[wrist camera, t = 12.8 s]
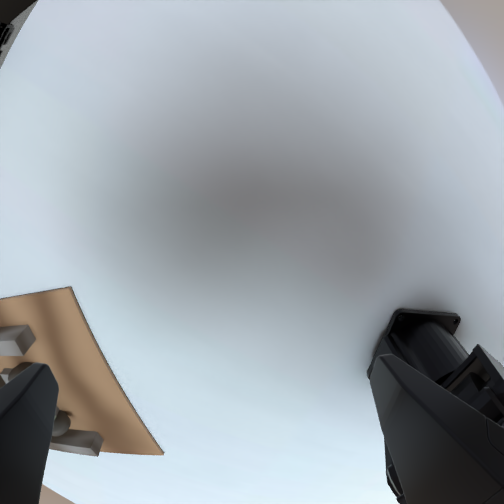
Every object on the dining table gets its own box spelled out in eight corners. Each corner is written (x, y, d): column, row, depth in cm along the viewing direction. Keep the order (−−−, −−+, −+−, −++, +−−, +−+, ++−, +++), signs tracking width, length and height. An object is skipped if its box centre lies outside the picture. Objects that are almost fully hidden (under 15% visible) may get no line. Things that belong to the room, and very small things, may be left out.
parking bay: (70, 286, 20) (53, 305, 18) (163, 453, 28) (160, 472, 25) (-64, 309, 21) (-77, 321, 19) (21, 436, 29) (14, 449, 26)
